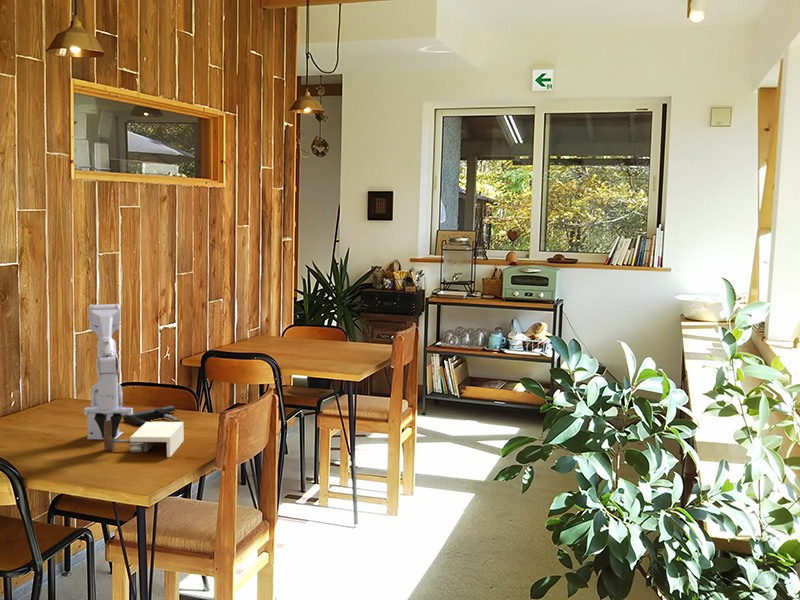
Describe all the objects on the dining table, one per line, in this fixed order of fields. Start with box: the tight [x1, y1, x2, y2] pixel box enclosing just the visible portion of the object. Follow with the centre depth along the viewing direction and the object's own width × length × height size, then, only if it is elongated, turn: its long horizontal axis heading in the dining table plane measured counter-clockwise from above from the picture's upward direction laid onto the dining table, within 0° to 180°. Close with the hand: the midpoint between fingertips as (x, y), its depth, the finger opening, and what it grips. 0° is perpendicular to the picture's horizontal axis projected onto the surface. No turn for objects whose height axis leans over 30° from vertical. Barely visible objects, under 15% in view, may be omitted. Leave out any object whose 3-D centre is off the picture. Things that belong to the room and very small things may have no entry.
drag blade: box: [103, 420, 153, 453], centre depth 262 cm, size 14×6×9 cm, turn 92°
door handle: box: [122, 405, 180, 427], centre depth 299 cm, size 3×20×16 cm
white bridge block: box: [129, 421, 185, 458], centre depth 265 cm, size 12×18×6 cm, turn 1°
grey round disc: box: [129, 443, 145, 453], centre depth 263 cm, size 5×5×2 cm
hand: (109, 437), depth 262 cm, fingers closed on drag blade, 2 cm apart
